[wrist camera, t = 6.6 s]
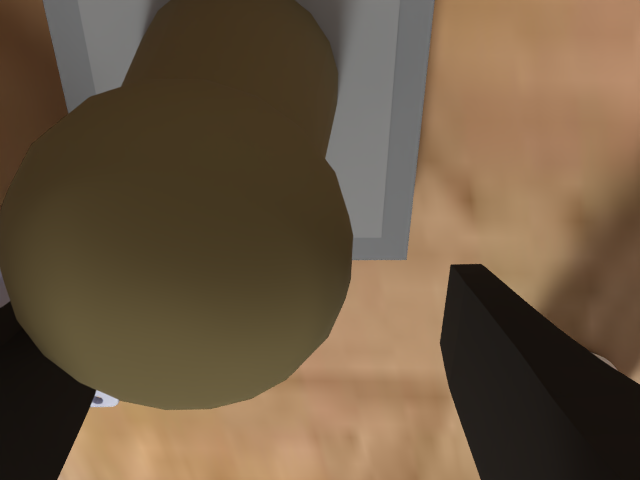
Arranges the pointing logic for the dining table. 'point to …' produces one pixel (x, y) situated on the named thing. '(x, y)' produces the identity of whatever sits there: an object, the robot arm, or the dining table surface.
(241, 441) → the dining table surface
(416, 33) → the grey flat square block
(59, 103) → the dining table surface
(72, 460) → the dining table surface
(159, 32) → the olive bowling pin
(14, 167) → the dining table surface
